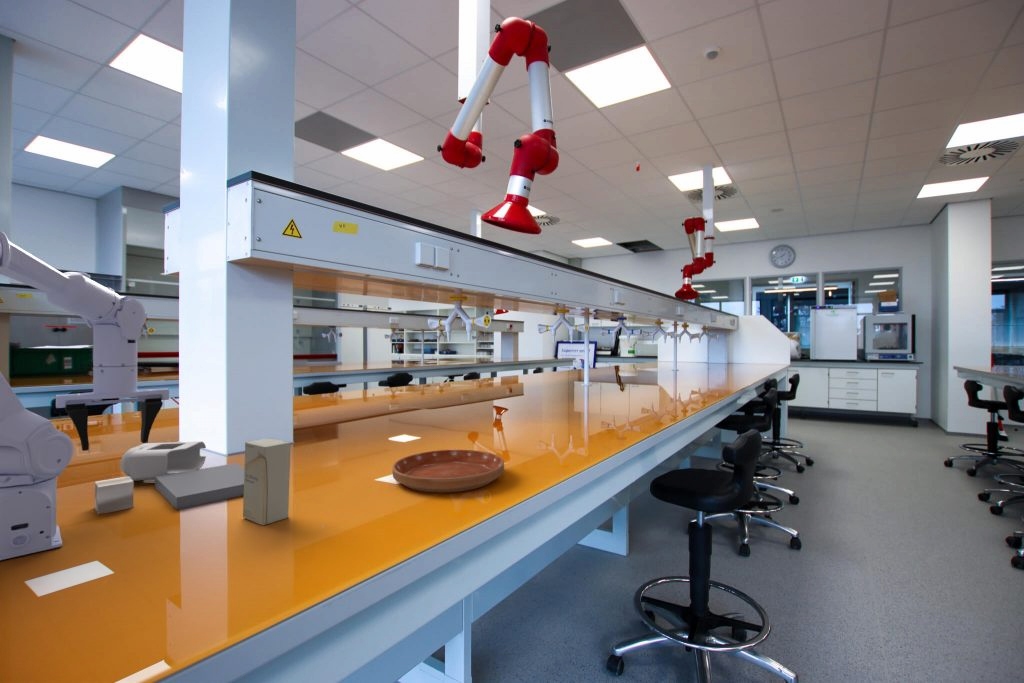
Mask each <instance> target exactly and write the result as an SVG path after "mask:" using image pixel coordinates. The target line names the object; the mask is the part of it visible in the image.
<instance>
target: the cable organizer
mask: <svg viewBox="0 0 1024 683" xmlns="http://www.w3.org/2000/svg"><path fill="white" fill-rule="evenodd" d="M206 448H207V447H206V444H205V443H204V442H203V441H202V440H201V441H177V442H175V441H174V442H151V443H150V442H148V443H142V444H140V445H137V446H133V447H132V448H130V449H128V450H127V451H125V453H123V455H122V456H121V459H120V469H121V471H122V472H123V473H124V475H126V477H127V476H129V477H130V478H131V479H132V480H133V481H135V482H137V481H143V482H149V483H155V477H156V476H162V475H168V474H174V473H180V472H186V471H192V470H198V469H202V467H203V466H204V464H205V463H206V462H205V461H206V457H207V456H205V455H203V456H202V455H201V449H206Z"/></svg>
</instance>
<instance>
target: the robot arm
mask: <svg viewBox="0 0 1024 683" xmlns="http://www.w3.org/2000/svg"><path fill="white" fill-rule="evenodd" d="M0 275H2V276H4V277H7V278H10V279H12V280H14V281H17V282H19V283H21V284H22V283H23V284H25V285H26V286H27V285H28V286H30V287H32V288H34V289H36V290H39V291H42V292H45V297H46V300H48V302H49V303H50V304H52V305H53V306H55V307H59V308H60V309H62V310H64V311H67V312H69V313H71V314H73V315H75V316H79V317H81V318H82V320H83V321H84V323H85V324H86V325H87V326H88V328H90V329H93V334H92V336H93V338H92V339H93V345H92V346H93V348H92V350H93V351H92V352H93V354H92V355H93V356H92V357H93V358H92V362H93V364H92V365H93V367H92V368H93V370H92V376H93V377H92V384H93V385H92V386H93V388H92V391H91V392H82V393H71V394H56V395H55V408H56V409H63V408H64V410H65V411H66V413H67V415H68V416H69V418H70V419H71V421H72V423H73V425H74V427H75V429H76V431H77V434H78V437H79V439H80V445H81V450H82V452H85V451H90V450H89V448H90V444H89V434H88V433H89V432H88V419H89V418H88V417H89V411H88V407H87V406H96V405H97V406H98V405H109V404H110V405H111V404H123V403H134V402H137V403H138V402H140V413H141V414H140V419H141V427H140V443H142V444H145V443H149V437H150V433H151V430H152V428H153V424H154V422H155V420H156V418H157V416H158V414H159V412H160V410H161V409H162V407H163V405H164V404H163V403H164V402H163V401H169V400H170V389H169V388H150V389H148V388H147V389H144V388H143V389H138V340H139V339H140V338H141V336H142V329H143V326H144V325H145V324H146V321H147V318H148V317H147V316H148V313H147V312H146V311H145V307H144V305H143V303H142V302H141V301H139V300H138V299H137V298H135V297H133V296H130V295H119V293H117V292H115V289H113V288H112V287H106V286H104V285H102V284H100V283H98V282H96V281H95V280H92V279H91V277H92V276H91V274H88V273H86V272H78V271H77V272H76V271H67V272H61V271H60V270H58V269H56V268H54V267H53V266H51V265H49V263H46V262H44V261H43V260H42V259H39V257H36V256H34V255H33V254H31V253H30V252H28V251H26V250H24V249H23V248H21V247H19V246H18V245H16V244H14V243H13V242H11V241H10V240H9V238H8V236H7V234H6V233H5V232H3V231H2V230H0ZM125 398H126V399H125ZM106 399H107V400H106ZM108 399H111V400H108ZM73 455H74V442H73V441H72V438H71V437H70V436H69V435H68V434H67V433H65V432H64V431H63V432H62V431H61V430H58V429H57V428H56V427H55V426H54V424H53V423H52V421H51V420H49V419H48V418H45V417H43V416H41V415H39V414H37V413H35V412H32V411H30V410H28V409H26V407H25V406H24V405H23V403H22V402H21V400H20V398H19V397H18V396H17V394H16V392H15V391H14V389H13V388H12V387H11V385H10V384H9V382H8V381H7V379H6V378H5V376H4V374H3V373H2V372H1V371H0V561H3V560H7V559H11V558H16V557H21V556H25V555H30V554H34V553H38V552H43V551H47V550H52V549H55V548H60V547H62V546H63V539H62V534H61V530H60V526H59V525H57V501H58V500H57V493H58V492H57V490H58V487H57V486H58V483H57V482H58V481H57V480H58V477H61V476H62V475H63V472H64V470H65V469H66V468H67V467H68V465H69V464H70V462H72V458H73Z"/></svg>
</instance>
